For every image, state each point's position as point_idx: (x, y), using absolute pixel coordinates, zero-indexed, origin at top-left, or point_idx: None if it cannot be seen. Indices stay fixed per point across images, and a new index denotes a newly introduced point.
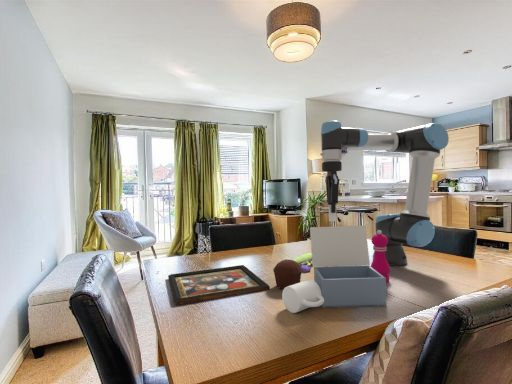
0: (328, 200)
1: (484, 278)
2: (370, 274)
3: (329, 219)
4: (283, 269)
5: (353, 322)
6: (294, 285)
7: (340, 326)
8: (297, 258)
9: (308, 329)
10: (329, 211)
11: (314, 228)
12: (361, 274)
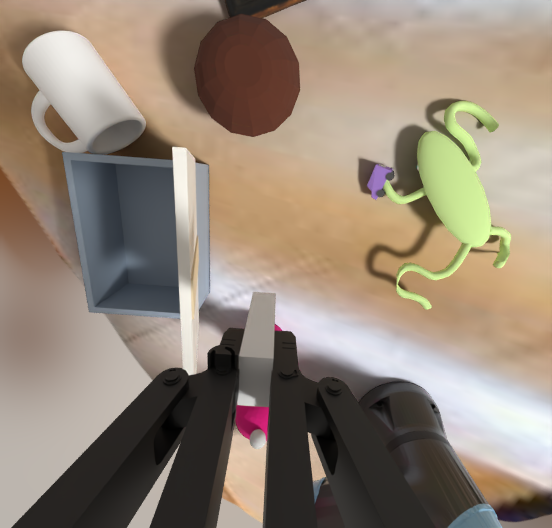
0: (285, 390)
1: (249, 488)
2: (174, 304)
3: (256, 296)
4: (202, 47)
5: (52, 199)
6: (44, 60)
7: (32, 168)
8: (445, 163)
9: (8, 97)
10: (247, 323)
11: (174, 173)
12: None
